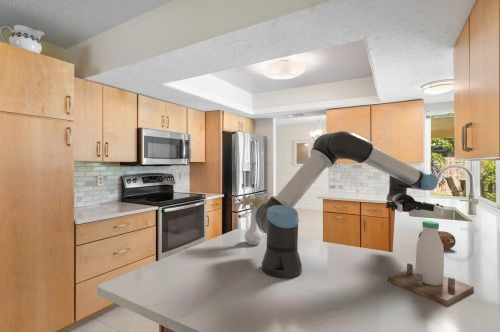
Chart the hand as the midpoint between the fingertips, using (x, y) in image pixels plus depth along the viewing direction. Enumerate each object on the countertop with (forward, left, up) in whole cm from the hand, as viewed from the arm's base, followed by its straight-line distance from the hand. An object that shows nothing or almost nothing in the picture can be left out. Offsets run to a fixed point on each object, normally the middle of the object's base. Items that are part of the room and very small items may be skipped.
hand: (421, 210), depth 98 cm
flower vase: (-60, -36, -24) cm, 74 cm away
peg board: (+7, -7, -24) cm, 26 cm away
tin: (-13, +42, -24) cm, 50 cm away
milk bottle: (+7, -7, -23) cm, 25 cm away
